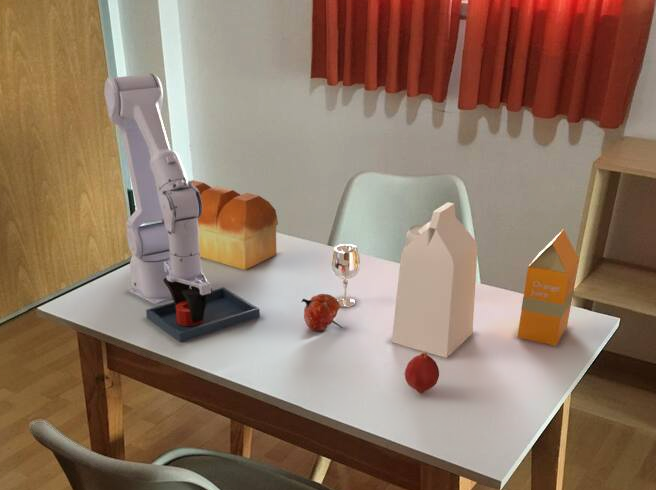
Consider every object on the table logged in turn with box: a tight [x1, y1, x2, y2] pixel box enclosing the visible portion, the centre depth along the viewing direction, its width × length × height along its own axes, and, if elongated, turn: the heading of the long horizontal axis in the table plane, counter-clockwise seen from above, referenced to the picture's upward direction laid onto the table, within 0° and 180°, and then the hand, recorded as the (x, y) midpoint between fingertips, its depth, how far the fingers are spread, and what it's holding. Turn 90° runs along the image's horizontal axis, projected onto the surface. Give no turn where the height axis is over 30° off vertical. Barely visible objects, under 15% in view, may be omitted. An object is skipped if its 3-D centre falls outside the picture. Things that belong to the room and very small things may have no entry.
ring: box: [176, 301, 204, 326], centre depth 164 cm, size 5×5×3 cm
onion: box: [404, 351, 440, 394], centre depth 140 cm, size 6×6×8 cm
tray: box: [145, 286, 261, 343], centre depth 166 cm, size 13×18×2 cm
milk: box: [391, 201, 478, 359], centre depth 153 cm, size 12×12×26 cm
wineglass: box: [331, 244, 361, 308], centre depth 170 cm, size 6×6×12 cm
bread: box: [190, 179, 279, 271], centre depth 194 cm, size 25×12×15 cm, turn 55°
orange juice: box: [517, 228, 580, 347], centre depth 157 cm, size 8×9×20 cm
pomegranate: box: [300, 293, 344, 333], centre depth 161 cm, size 7×7×10 cm
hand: (189, 315), depth 164 cm, fingers closed on ring, 5 cm apart
